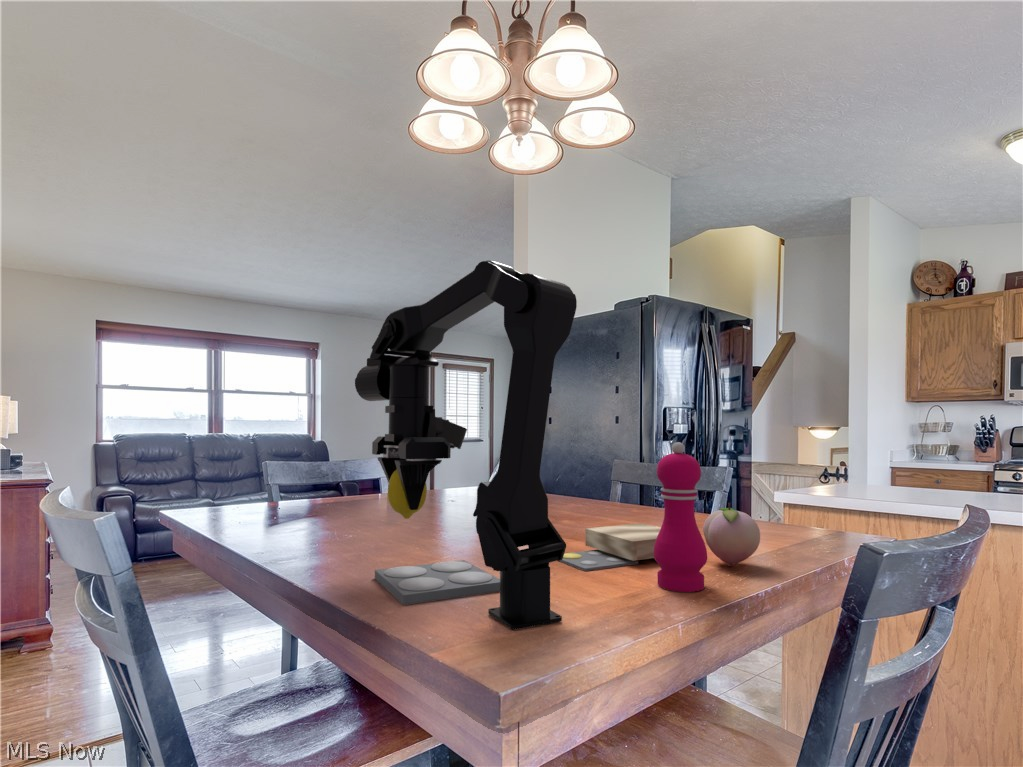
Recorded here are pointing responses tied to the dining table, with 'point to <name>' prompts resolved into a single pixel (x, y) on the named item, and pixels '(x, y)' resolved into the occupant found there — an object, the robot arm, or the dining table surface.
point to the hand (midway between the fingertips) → (407, 507)
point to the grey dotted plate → (595, 560)
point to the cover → (624, 540)
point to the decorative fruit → (731, 535)
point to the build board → (436, 581)
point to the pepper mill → (679, 524)
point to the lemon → (401, 496)
